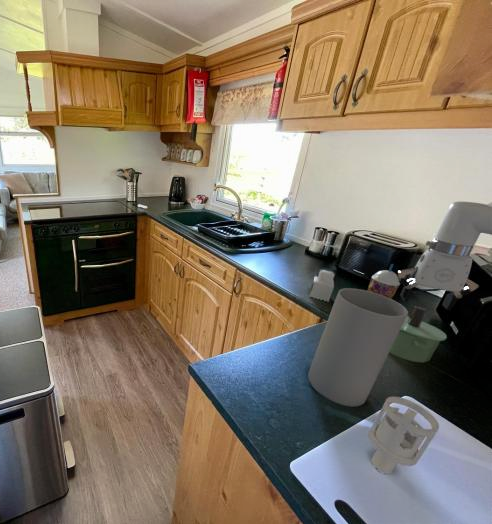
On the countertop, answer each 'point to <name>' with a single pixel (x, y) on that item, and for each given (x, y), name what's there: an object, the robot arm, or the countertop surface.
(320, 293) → the medicine bottle
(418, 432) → the strainer
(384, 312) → the cylinder vase
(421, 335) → the lid
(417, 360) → the pot
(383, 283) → the smoothie
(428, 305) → the countertop surface
